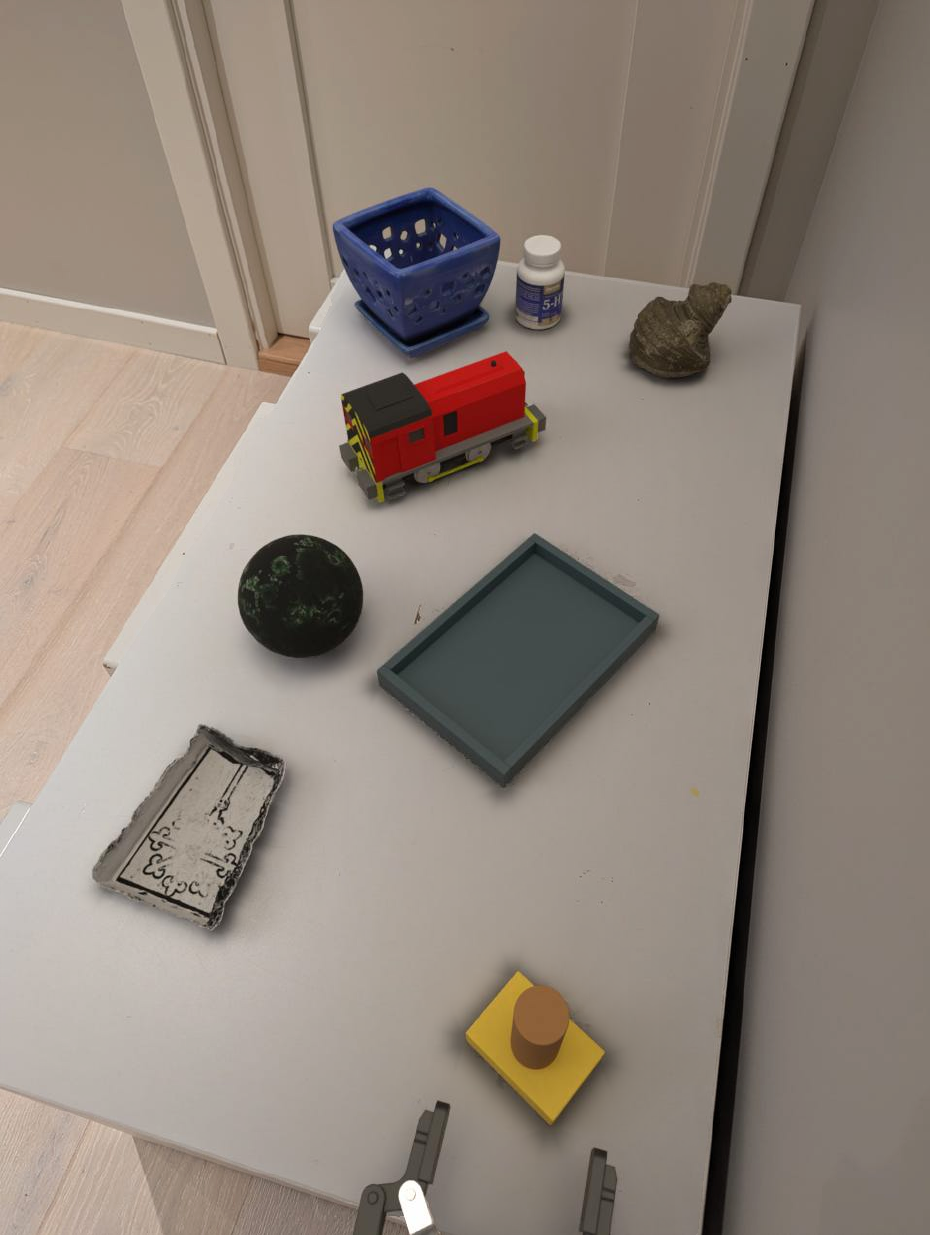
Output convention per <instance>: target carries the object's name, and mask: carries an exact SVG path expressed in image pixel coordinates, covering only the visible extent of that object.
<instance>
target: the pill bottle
mask: <svg viewBox="0 0 930 1235" xmlns="http://www.w3.org/2000/svg"><path fill="white" fill-rule="evenodd" d="M561 255H562V244H561V242H560V241H559V239H557V237H556V238H555V236H551V235H545V234H538V235H534V236H530V237H528V238H527V239H526V240H525V241H524V244H523V258H521V260H520V261H519V263H518V264H517V267H516V282H515V283H516V284H515V286H516V287H515V311H514V312H515V315H514V316H515V319H516V320H517V322H518V323H519V324H520V325H521V326H523V327H525V328H528V329H531V330H547V329H550V328H552V327H554V326H555V325H557V324H558V323H559V321H560V320H561V317H562V309H563V308H562V307H563V298H564V289H565V288H564V285H565V274H566V268H565V264H564V262H563V261H562V259H561Z"/></svg>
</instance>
